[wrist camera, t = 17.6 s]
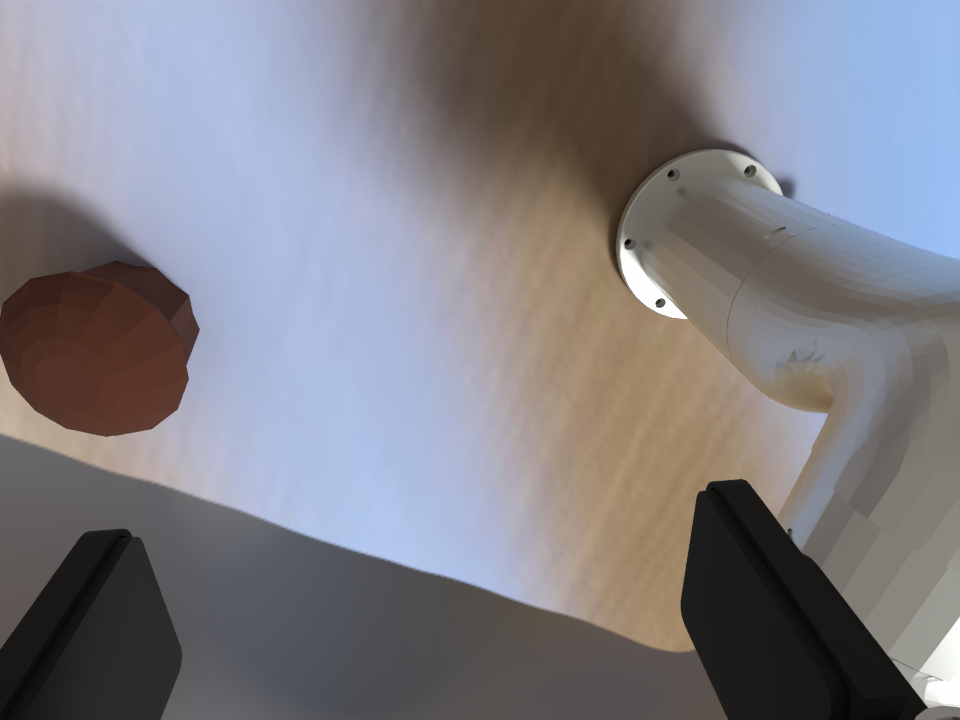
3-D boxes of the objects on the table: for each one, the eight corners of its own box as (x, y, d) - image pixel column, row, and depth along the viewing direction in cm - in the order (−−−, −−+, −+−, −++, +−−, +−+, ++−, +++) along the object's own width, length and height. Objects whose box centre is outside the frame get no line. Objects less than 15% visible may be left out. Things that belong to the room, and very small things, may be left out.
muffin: (17, 279, 44) (-88, 337, 35) (152, 216, 43) (80, 259, 34) (124, 409, 49) (57, 489, 40) (246, 356, 48) (206, 426, 39)
